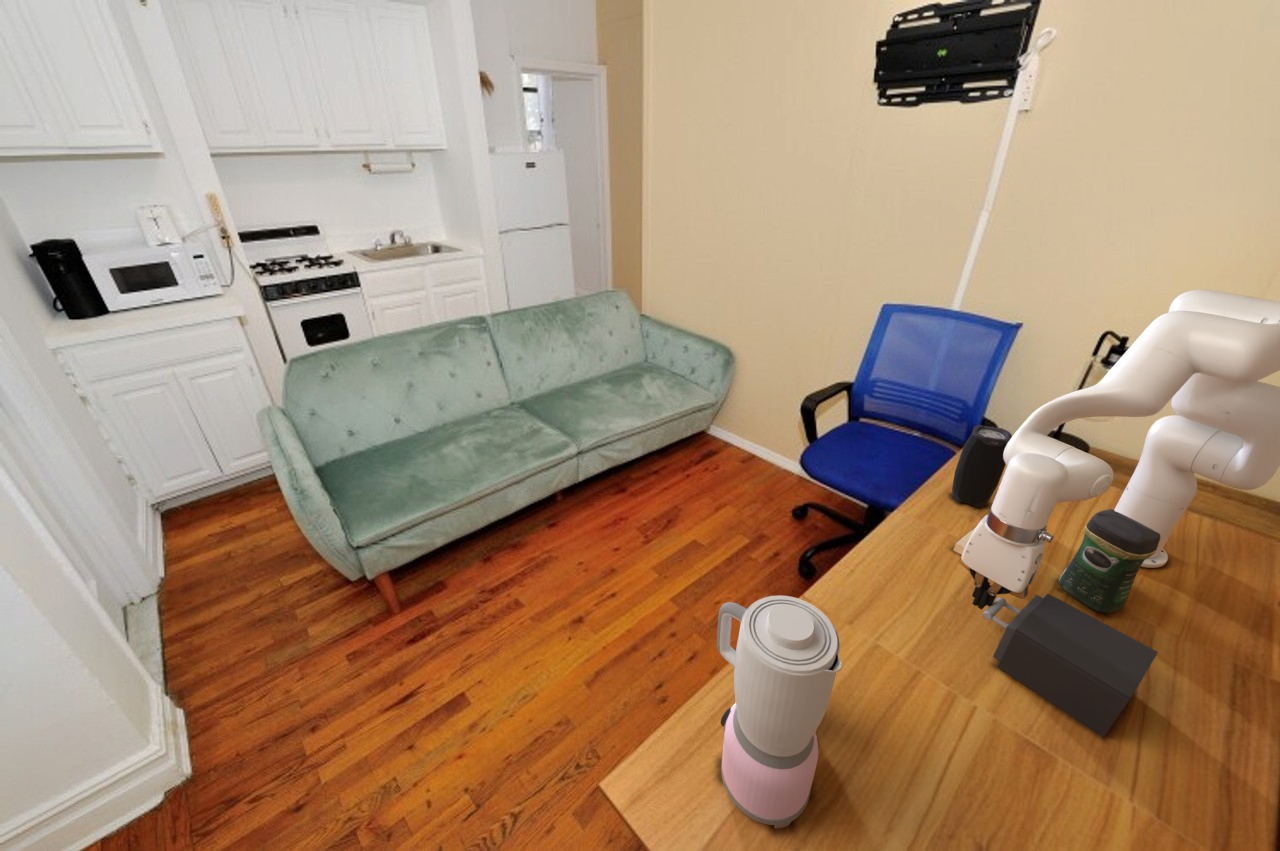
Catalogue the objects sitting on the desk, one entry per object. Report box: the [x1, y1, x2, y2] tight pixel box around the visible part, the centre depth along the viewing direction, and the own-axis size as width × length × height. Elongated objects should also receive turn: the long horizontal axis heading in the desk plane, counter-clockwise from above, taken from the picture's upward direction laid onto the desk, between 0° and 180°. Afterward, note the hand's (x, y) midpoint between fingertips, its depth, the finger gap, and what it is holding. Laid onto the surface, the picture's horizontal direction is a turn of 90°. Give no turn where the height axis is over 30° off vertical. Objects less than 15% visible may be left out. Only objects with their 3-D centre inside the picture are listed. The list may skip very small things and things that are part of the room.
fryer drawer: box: [982, 594, 1044, 662], centre depth 84 cm, size 18×11×8 cm, turn 35°
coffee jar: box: [1058, 508, 1161, 614], centre depth 95 cm, size 10×8×19 cm
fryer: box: [997, 593, 1159, 738], centre depth 82 cm, size 15×13×10 cm
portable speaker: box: [951, 424, 1013, 509], centre depth 123 cm, size 9×9×20 cm
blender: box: [716, 594, 843, 829], centre depth 65 cm, size 16×12×32 cm
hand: (980, 603), depth 92 cm, fingers closed
